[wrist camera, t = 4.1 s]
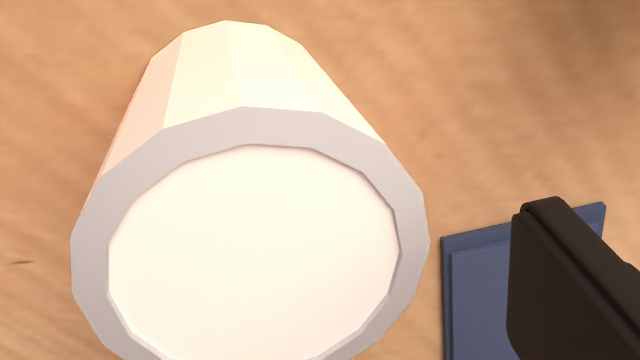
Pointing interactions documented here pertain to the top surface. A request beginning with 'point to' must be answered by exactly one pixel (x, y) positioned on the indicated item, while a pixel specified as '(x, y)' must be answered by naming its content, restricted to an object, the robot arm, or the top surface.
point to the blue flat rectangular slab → (484, 289)
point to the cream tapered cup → (245, 211)
